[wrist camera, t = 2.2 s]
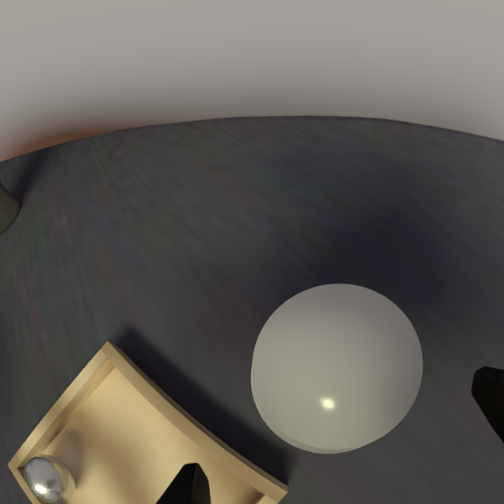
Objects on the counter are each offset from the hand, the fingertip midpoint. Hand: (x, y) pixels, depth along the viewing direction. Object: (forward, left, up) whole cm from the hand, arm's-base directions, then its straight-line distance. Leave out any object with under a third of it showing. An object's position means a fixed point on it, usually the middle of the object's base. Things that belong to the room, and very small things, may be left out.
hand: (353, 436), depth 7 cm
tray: (-11, +7, -10) cm, 16 cm away
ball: (-14, +10, -9) cm, 20 cm away
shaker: (+1, +2, -10) cm, 10 cm away
